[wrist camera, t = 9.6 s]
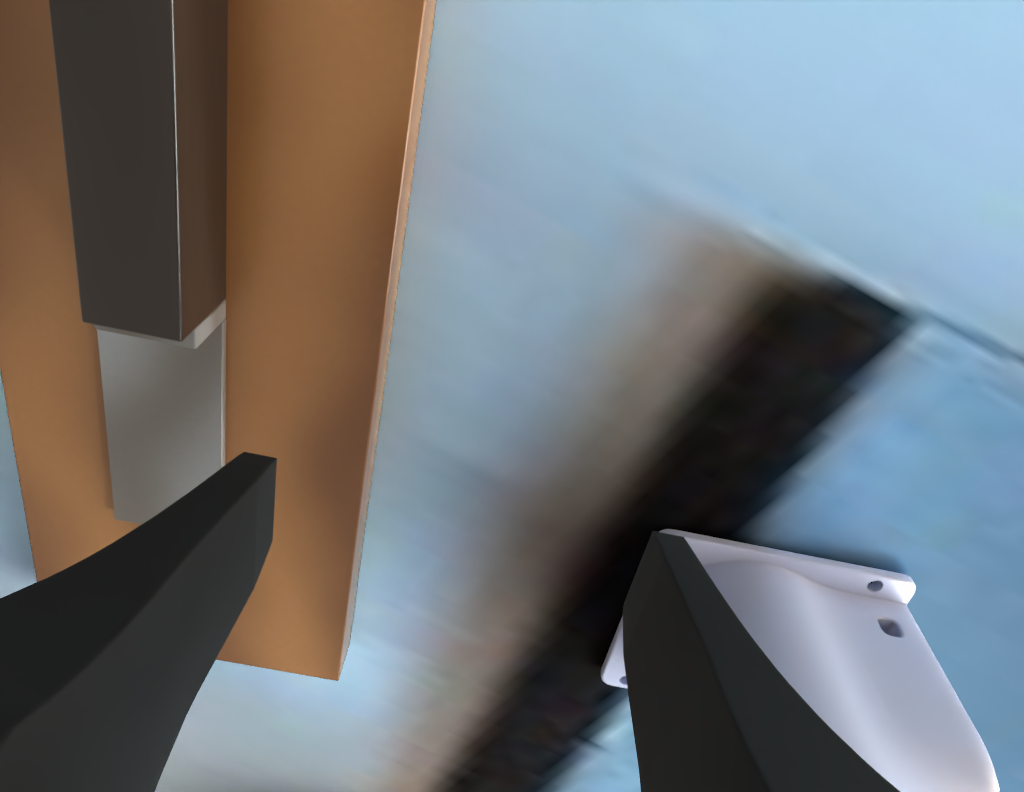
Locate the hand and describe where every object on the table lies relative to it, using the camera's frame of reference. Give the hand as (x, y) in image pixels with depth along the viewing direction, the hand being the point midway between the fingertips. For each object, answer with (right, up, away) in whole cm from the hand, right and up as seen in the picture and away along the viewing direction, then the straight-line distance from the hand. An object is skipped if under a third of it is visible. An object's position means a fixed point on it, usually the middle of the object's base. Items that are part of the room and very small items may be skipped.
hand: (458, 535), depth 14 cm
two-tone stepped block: (-9, +5, +6) cm, 12 cm away
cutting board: (-8, +5, +9) cm, 13 cm away
